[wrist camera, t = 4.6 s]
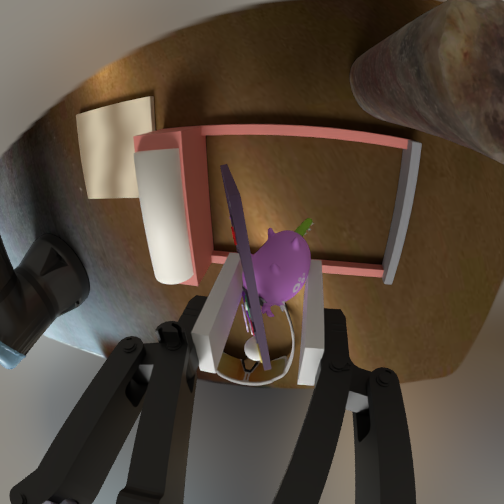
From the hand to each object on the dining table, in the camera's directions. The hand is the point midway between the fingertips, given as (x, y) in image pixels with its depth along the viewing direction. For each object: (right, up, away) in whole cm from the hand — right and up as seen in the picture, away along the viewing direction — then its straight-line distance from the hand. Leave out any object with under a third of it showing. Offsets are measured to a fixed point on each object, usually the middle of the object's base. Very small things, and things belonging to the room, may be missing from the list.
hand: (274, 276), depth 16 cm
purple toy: (0, +3, 0) cm, 3 cm away
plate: (-18, +14, +13) cm, 26 cm away
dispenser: (+2, +7, +12) cm, 14 cm away
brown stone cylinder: (+12, +18, +4) cm, 21 cm away
